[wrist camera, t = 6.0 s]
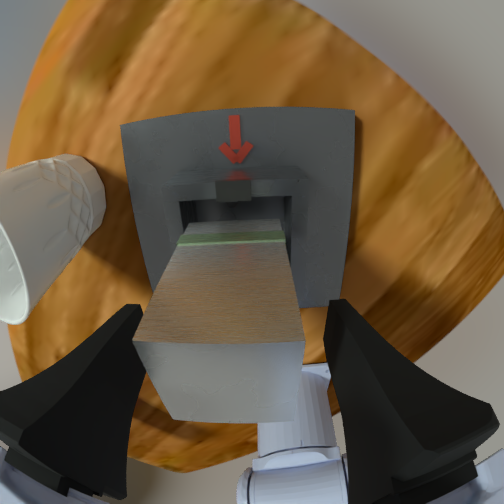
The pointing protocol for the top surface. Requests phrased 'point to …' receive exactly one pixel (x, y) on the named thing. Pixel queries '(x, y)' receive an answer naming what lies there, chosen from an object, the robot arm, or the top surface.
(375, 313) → the top surface
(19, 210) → the white cup
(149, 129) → the gray frame
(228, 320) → the steel column
